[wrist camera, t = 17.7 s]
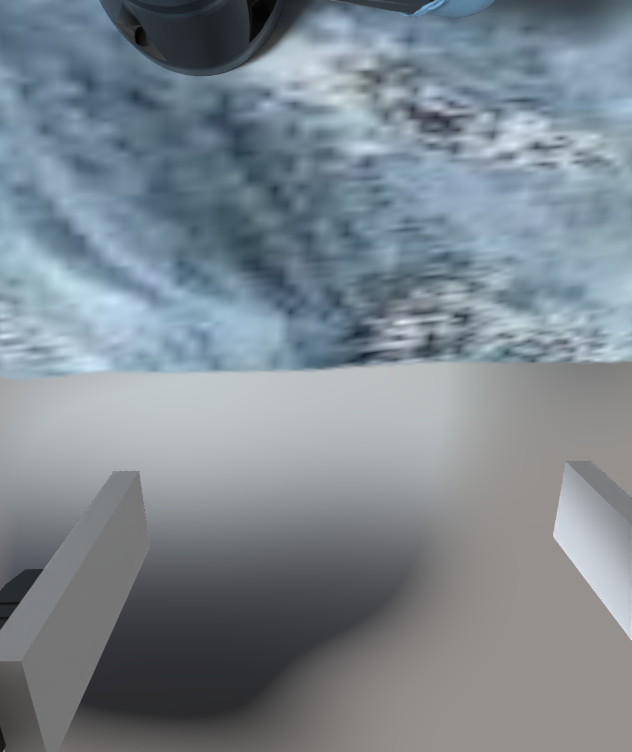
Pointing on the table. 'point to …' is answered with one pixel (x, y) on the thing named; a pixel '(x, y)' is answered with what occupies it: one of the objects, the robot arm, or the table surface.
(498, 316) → the table surface
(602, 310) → the table surface
